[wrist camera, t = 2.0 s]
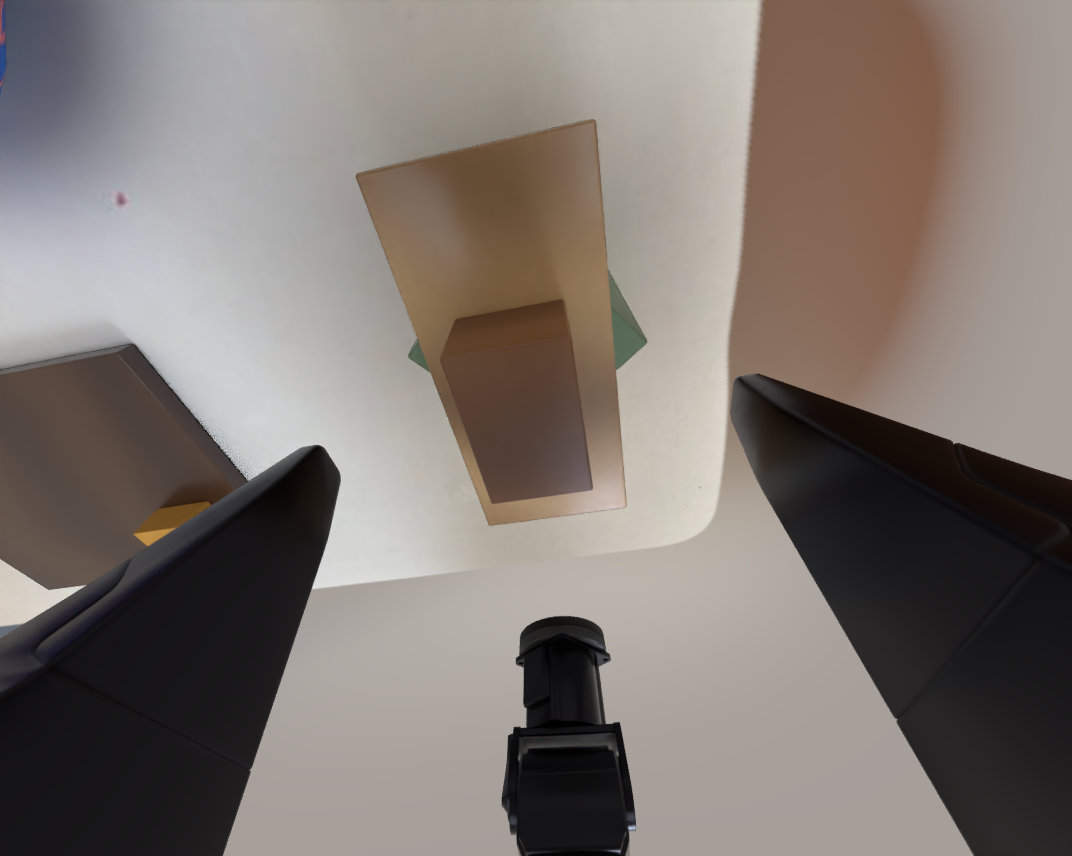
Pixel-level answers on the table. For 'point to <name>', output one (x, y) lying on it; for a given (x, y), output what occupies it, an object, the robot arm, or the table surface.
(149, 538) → the mustard orange square block
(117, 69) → the table surface
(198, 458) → the board
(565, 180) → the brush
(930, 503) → the robot arm
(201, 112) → the table surface
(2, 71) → the ceramic pot
